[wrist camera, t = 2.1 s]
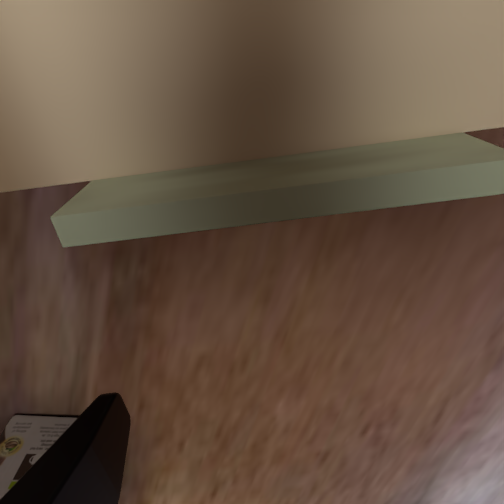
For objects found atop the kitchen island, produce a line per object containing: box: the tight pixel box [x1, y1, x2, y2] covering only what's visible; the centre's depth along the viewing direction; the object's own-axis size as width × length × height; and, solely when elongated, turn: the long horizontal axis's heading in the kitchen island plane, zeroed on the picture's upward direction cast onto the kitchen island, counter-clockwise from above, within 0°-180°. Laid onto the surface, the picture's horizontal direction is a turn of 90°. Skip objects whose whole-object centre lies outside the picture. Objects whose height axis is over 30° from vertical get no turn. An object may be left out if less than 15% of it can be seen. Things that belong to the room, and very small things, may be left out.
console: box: [0, 0, 504, 247], centre depth 9 cm, size 14×6×10 cm, turn 97°
